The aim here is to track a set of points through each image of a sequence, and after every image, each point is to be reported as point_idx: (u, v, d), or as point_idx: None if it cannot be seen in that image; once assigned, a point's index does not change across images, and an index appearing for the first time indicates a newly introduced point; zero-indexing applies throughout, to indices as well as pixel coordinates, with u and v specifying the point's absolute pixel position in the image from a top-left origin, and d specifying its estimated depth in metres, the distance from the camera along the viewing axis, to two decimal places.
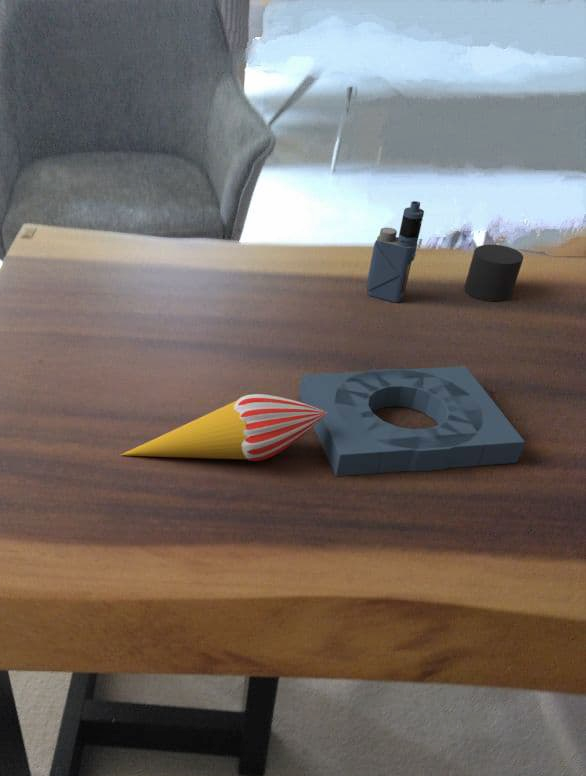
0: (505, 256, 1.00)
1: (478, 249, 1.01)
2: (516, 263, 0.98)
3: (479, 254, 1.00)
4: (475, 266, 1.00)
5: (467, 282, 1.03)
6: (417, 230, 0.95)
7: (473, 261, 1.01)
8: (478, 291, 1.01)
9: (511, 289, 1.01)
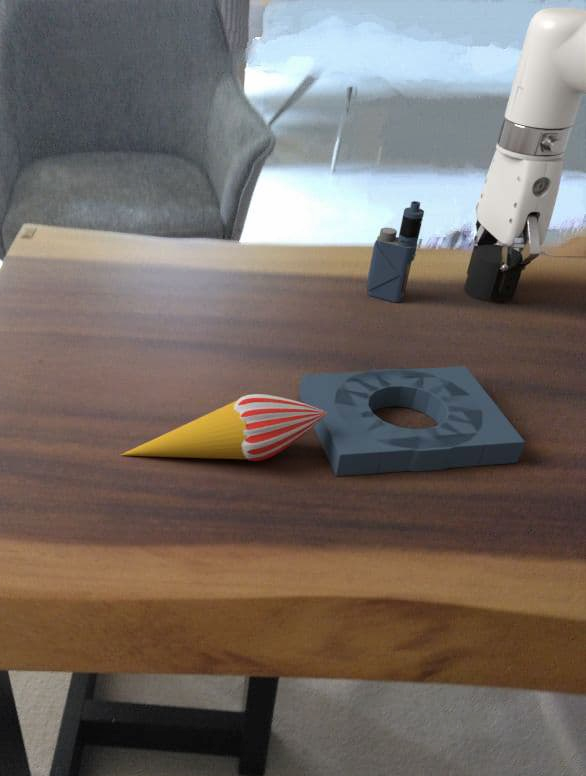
0: None
1: (478, 249, 1.01)
2: None
3: (479, 254, 1.00)
4: (475, 266, 1.00)
5: (467, 282, 1.03)
6: (417, 230, 0.95)
7: (473, 261, 1.01)
8: (478, 291, 1.01)
9: None
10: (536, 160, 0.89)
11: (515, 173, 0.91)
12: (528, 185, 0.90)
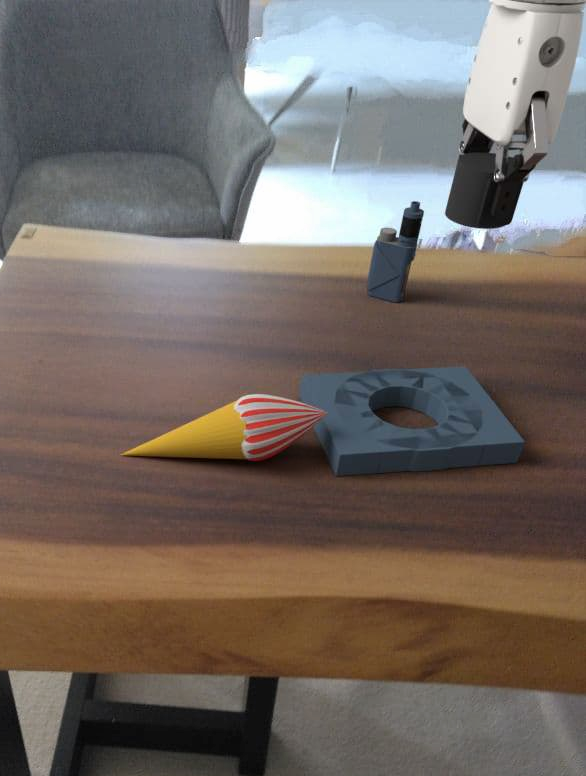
0: None
1: (464, 157, 0.74)
2: None
3: (465, 162, 0.73)
4: (459, 179, 0.73)
5: (448, 203, 0.76)
6: (417, 230, 0.95)
7: (456, 173, 0.74)
8: (463, 214, 0.74)
9: None
10: (545, 12, 0.62)
11: (515, 34, 0.64)
12: (533, 49, 0.63)
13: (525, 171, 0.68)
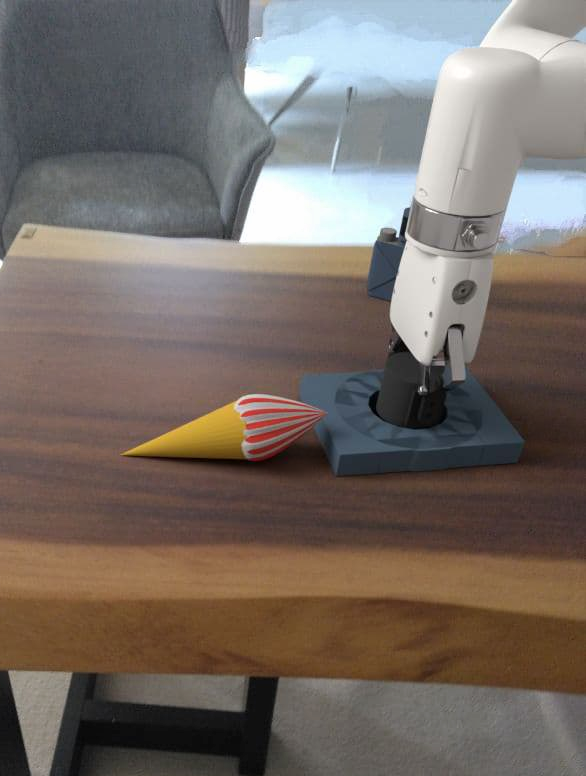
0: None
1: (392, 359, 0.76)
2: None
3: (392, 369, 0.75)
4: (386, 384, 0.75)
5: (378, 401, 0.78)
6: None
7: (384, 376, 0.76)
8: (391, 415, 0.76)
9: None
10: (456, 257, 0.64)
11: (430, 273, 0.66)
12: (446, 290, 0.65)
13: (446, 389, 0.71)
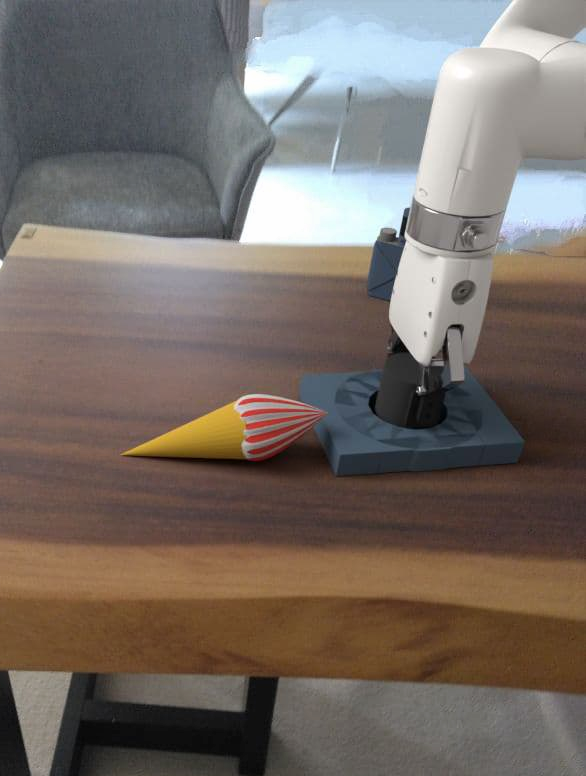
0: None
1: (391, 360, 0.76)
2: None
3: (391, 369, 0.75)
4: (385, 384, 0.75)
5: (377, 401, 0.78)
6: None
7: (383, 376, 0.76)
8: (390, 415, 0.76)
9: None
10: (456, 257, 0.64)
11: (429, 273, 0.66)
12: (445, 290, 0.65)
13: (445, 389, 0.71)
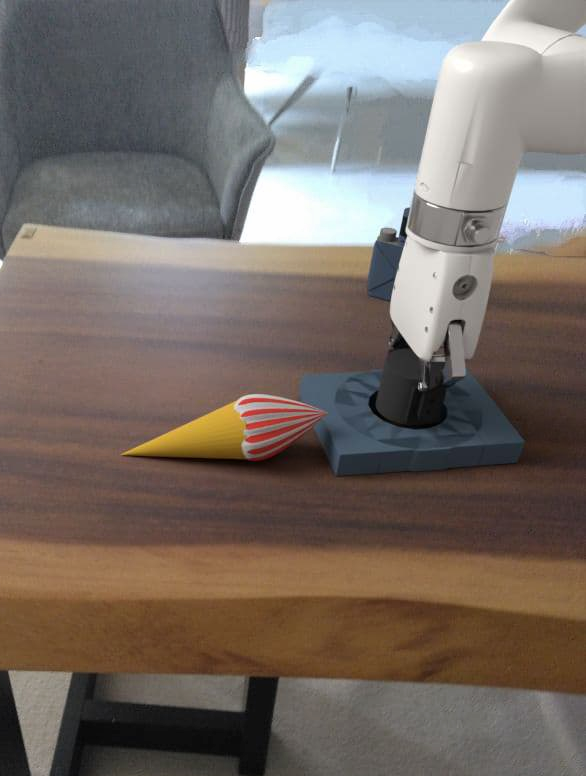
0: None
1: (392, 356, 0.76)
2: None
3: (391, 365, 0.75)
4: (386, 380, 0.75)
5: (378, 397, 0.77)
6: None
7: (384, 372, 0.75)
8: (391, 412, 0.76)
9: None
10: (457, 252, 0.64)
11: (431, 268, 0.66)
12: (447, 285, 0.65)
13: (446, 385, 0.70)
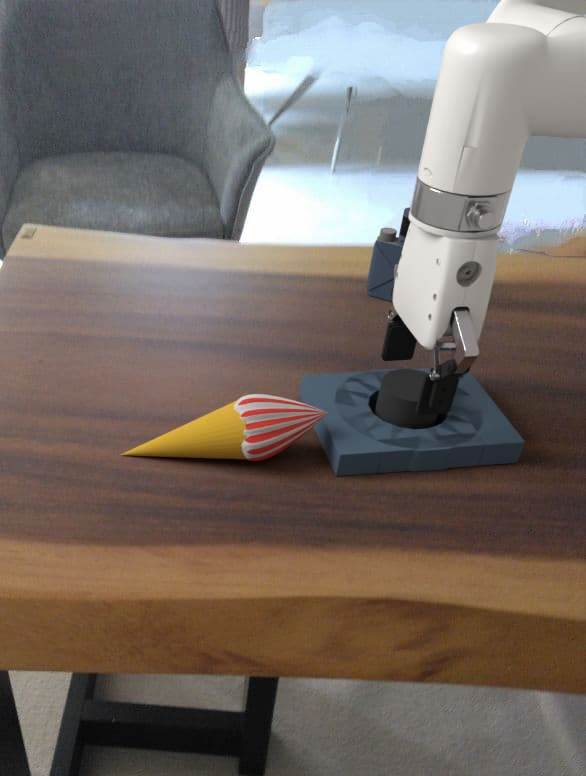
0: None
1: (388, 377, 0.77)
2: None
3: (387, 386, 0.76)
4: (382, 401, 0.77)
5: None
6: None
7: (380, 393, 0.77)
8: None
9: None
10: (461, 238, 0.63)
11: (434, 254, 0.65)
12: (450, 272, 0.64)
13: (459, 373, 0.68)
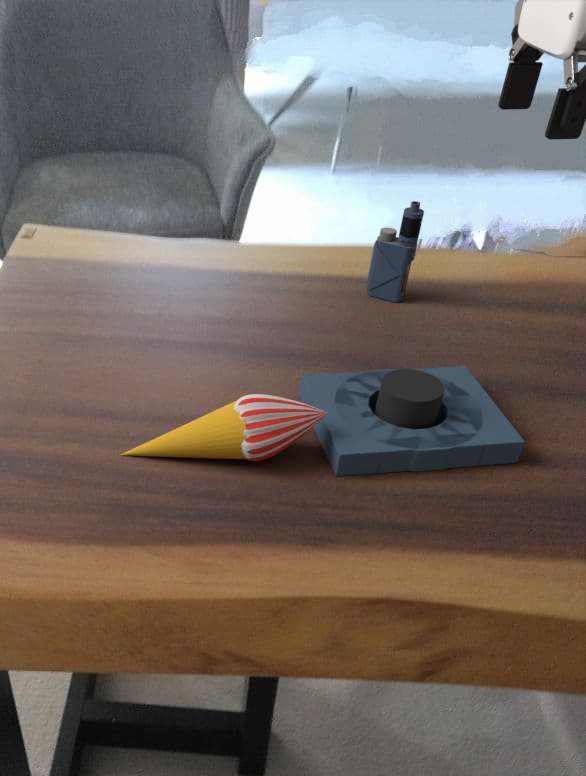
0: (420, 389, 0.76)
1: (388, 377, 0.77)
2: (433, 400, 0.75)
3: (387, 386, 0.76)
4: (382, 401, 0.77)
5: None
6: (417, 230, 0.95)
7: (380, 393, 0.77)
8: None
9: None
10: None
11: None
12: None
13: None
